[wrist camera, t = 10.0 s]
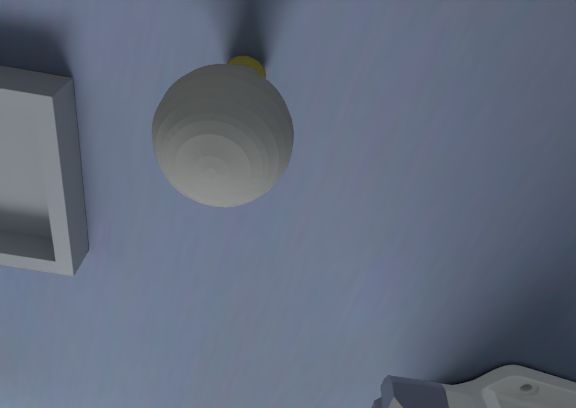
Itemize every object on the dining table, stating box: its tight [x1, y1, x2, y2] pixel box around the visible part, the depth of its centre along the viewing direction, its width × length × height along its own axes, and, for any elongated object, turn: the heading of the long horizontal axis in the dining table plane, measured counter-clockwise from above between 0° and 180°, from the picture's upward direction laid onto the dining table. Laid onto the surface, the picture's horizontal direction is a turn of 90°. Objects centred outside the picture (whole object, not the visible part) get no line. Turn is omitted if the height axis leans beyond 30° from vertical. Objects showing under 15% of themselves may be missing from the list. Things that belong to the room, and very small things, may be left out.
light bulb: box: [152, 56, 294, 207], centre depth 22 cm, size 6×5×10 cm
